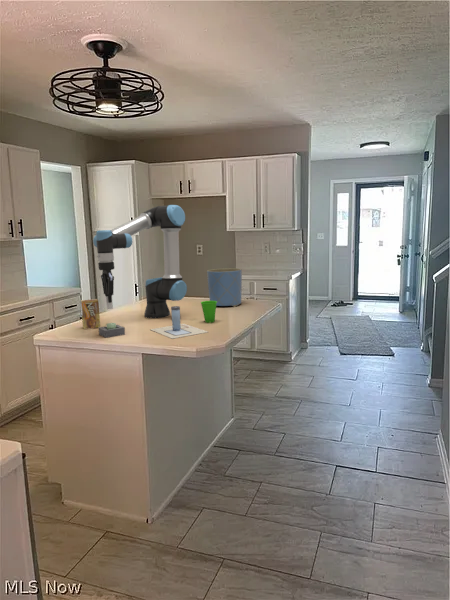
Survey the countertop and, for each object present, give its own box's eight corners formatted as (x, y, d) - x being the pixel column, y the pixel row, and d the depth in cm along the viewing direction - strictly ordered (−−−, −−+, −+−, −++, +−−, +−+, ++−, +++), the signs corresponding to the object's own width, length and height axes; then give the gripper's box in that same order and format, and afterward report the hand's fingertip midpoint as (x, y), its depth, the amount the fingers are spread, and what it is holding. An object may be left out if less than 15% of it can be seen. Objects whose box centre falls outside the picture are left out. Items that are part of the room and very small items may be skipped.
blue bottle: (170, 330, 234) (169, 307, 232) (178, 328, 236) (176, 305, 234) (175, 331, 230) (173, 308, 228) (182, 330, 233) (181, 306, 231)
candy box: (99, 325, 254) (96, 298, 251) (100, 327, 250) (98, 299, 248) (82, 328, 250) (80, 300, 248) (84, 329, 246) (81, 301, 244)
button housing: (99, 334, 233) (98, 327, 233) (118, 331, 238) (117, 324, 238) (105, 337, 225) (104, 330, 224) (125, 334, 230) (124, 327, 230)
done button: (105, 331, 232) (105, 323, 231) (114, 330, 235) (113, 322, 234) (108, 332, 228) (108, 325, 228) (117, 331, 231) (117, 323, 230)
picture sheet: (149, 329, 238) (149, 329, 238) (183, 324, 249) (183, 323, 249) (172, 338, 217) (172, 338, 217) (208, 332, 227) (208, 331, 227)
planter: (205, 308, 296) (203, 272, 292) (212, 302, 318) (210, 268, 314) (240, 307, 292) (239, 271, 288) (244, 301, 314) (243, 267, 310)
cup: (216, 323, 248) (215, 303, 246) (199, 323, 250) (198, 303, 248) (219, 319, 257) (218, 300, 255) (203, 319, 258) (202, 300, 257)
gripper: (94, 261, 229) (98, 308, 233) (102, 262, 218) (106, 311, 222) (109, 260, 233) (112, 306, 237) (118, 261, 222) (121, 309, 226)
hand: (109, 308), depth 229 cm, fingers closed
